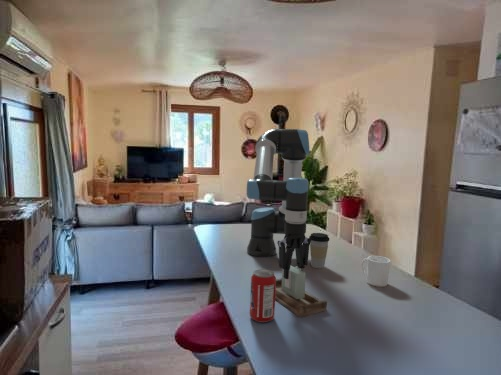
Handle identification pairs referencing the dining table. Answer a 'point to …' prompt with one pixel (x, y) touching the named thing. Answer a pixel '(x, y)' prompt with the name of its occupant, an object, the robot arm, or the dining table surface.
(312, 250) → the coffee cup
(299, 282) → the pale green block
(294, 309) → the wooden tray
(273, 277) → the soda can
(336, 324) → the dining table surface
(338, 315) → the dining table surface
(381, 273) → the mug
